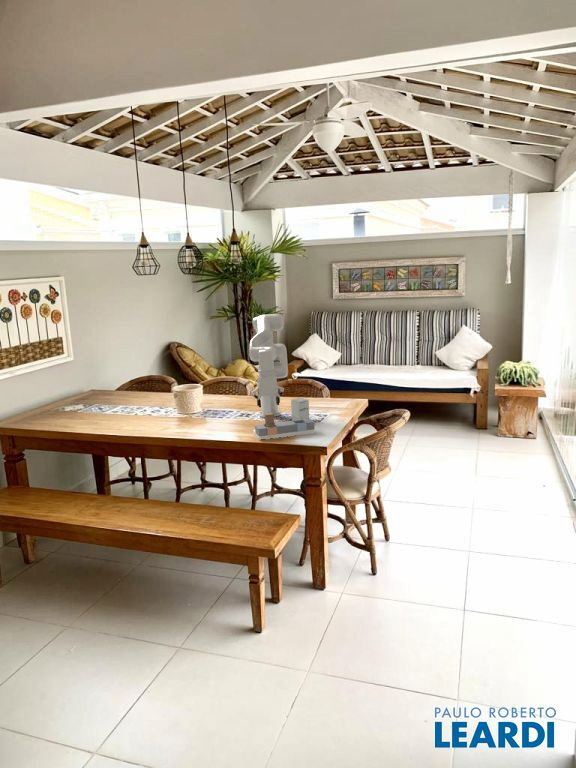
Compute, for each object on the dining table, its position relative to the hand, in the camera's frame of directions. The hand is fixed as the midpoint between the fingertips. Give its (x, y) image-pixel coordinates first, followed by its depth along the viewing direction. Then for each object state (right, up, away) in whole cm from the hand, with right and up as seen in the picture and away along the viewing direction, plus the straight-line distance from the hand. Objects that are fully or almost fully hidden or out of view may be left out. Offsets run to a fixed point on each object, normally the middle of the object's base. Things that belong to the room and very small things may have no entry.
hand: (268, 405), depth 308 cm
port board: (+8, -15, +8) cm, 18 cm away
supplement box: (+17, -10, +31) cm, 37 cm away
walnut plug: (+1, -14, +2) cm, 14 cm away
